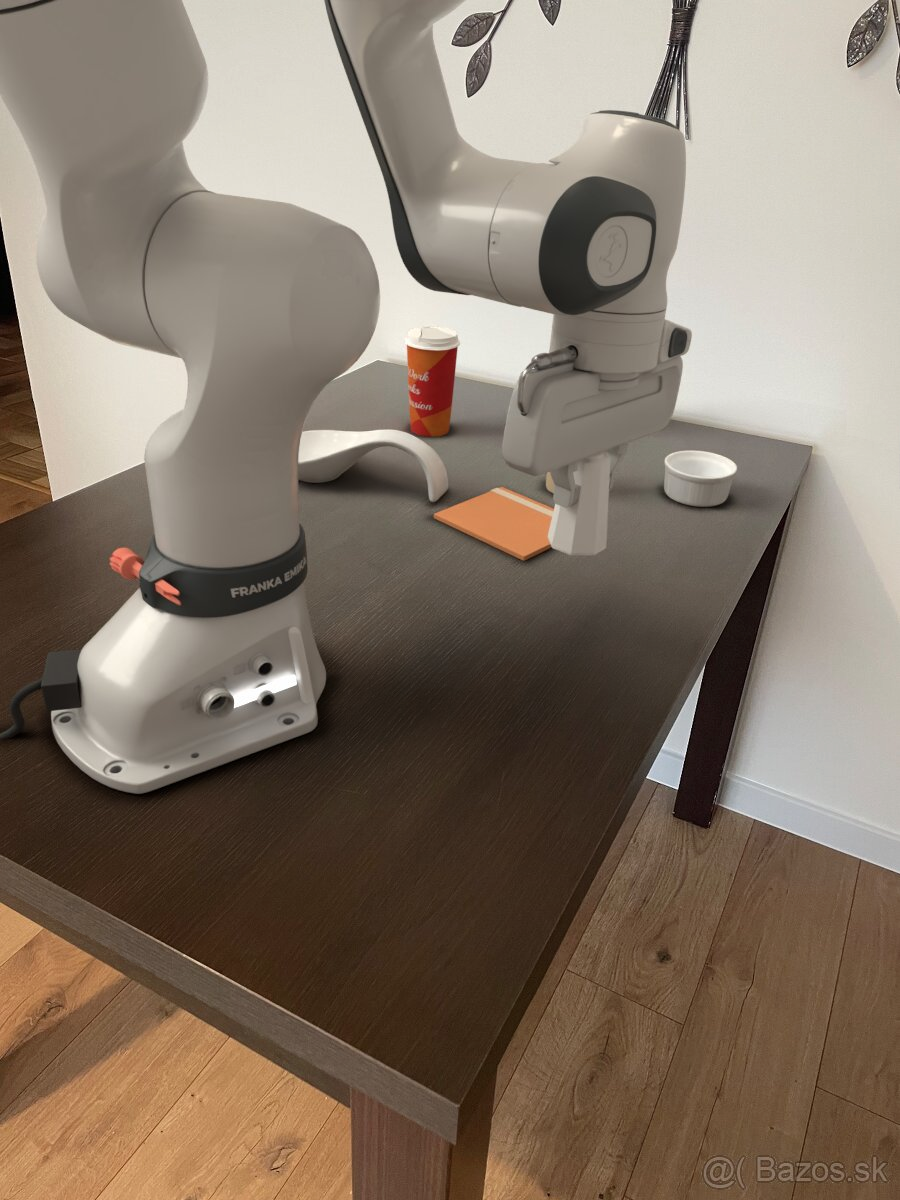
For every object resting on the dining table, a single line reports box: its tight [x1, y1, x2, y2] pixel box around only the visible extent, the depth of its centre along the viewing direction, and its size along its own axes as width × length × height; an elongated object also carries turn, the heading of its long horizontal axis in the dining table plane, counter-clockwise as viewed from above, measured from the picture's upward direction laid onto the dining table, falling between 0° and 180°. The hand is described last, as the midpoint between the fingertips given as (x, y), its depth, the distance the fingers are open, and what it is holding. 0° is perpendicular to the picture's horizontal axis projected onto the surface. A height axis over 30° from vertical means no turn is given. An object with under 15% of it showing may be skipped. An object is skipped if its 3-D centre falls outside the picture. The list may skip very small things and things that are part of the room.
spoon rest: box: [298, 429, 449, 503], centre depth 115 cm, size 24×12×7 cm, turn 70°
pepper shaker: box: [548, 451, 610, 557], centre depth 81 cm, size 5×5×11 cm
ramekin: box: [663, 450, 738, 508], centre depth 116 cm, size 9×9×4 cm
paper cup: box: [404, 325, 461, 437], centre depth 130 cm, size 8×8×14 cm
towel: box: [433, 486, 554, 562], centre depth 108 cm, size 12×14×1 cm
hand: (583, 496), depth 81 cm, fingers closed on pepper shaker, 4 cm apart
